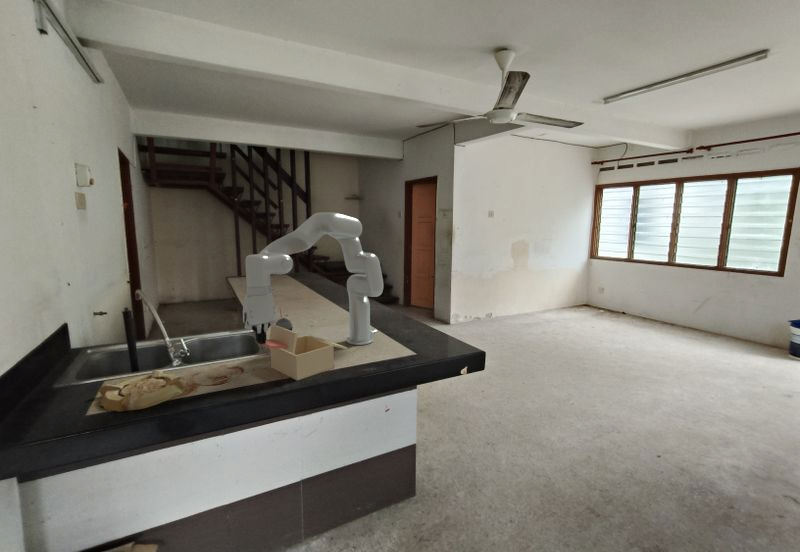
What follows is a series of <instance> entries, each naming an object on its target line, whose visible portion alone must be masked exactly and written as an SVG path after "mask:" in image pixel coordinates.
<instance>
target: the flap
mask: <svg viewBox="0 0 800 552" xmlns="http://www.w3.org/2000/svg"><path fill="white" fill-rule="evenodd" d="M269 332H270V333H269V338H268V339H266V343H265V344H259V343H257V341H256V340H255V343H256V344H258V345H260V346H263V347H265V348H267V349H277V348H281V349H283V350H286V351H288V352H290V353H295V347H296V341H297V338H298V332H296V331H293V330H292V331H290V330H288V329H285V328H282V327H279V326H276V325H275V324H273V325H271V326H270V331H269Z"/></svg>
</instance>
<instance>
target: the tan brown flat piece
mask: <svg viewBox="0 0 800 552" xmlns="http://www.w3.org/2000/svg"><path fill="white" fill-rule="evenodd" d="M187 385H188V380H187V378H185V377H182V376H179V375H175V374H171V373H164V372H163V370H160V369H154V370H152V372H151V374H149V375H147V374H146V375H142V376H141V375H140V376H137V377H133V378H131V379H127V380H125V381H122V382H119V383H117V384H116V385H114V384H113V385H112V384H108V383H107V384H104V385H103V386H102V387H100V388H99V389H98V392H99V393H100V395H101V399H100V404H99V406H100V407H103V408H104V409H105V411H107V412H108V411H115V412H125V411H135V410H136V411H137V410H142V409H146V408H149V407H153V406H156V405H159V404H162V403H163V402H166V401H169V400H170V399H172V398H176V397H178V396H180V395H181V394H183V393H185V392H186V388H187Z"/></svg>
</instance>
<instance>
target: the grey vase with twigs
mask: <svg viewBox="0 0 800 552" xmlns="http://www.w3.org/2000/svg"><path fill="white" fill-rule="evenodd" d="M279 312H280V313H279V314H280V318H279V319H278V320H276V323H275V324H274V325H276V326H279V327H282V328H285V329H288V330H290V331H293V324H292V322H291V320H290V319H288V318H285V317H283V313H282V308H281V307H279Z"/></svg>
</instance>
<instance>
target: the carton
mask: <svg viewBox="0 0 800 552" xmlns="http://www.w3.org/2000/svg"><path fill="white" fill-rule="evenodd" d="M309 336H310V335H304V336H300V337H297V341H296V347H295V353H290V352H288V351H286V350H283V349H281V348H277V349H270V350H269V351H270V367H271V369H273V370H274V371H275V370H276V371H277V372H280V373H282V374H283V375H284V376H287V377H290V378H291V379H293V380H295V381H300V380H304V379H306V378H309V377H312V376H315V375H318V374H320V373H323V372H326V371H329V370H333V369H335V357H334V356H335V355H334V353H335V352H334V349H335V348H334V347H335V346H333V345H331V344H328V343H326V342H323V341H320V340H317V339H314V338H311V337H309Z"/></svg>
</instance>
